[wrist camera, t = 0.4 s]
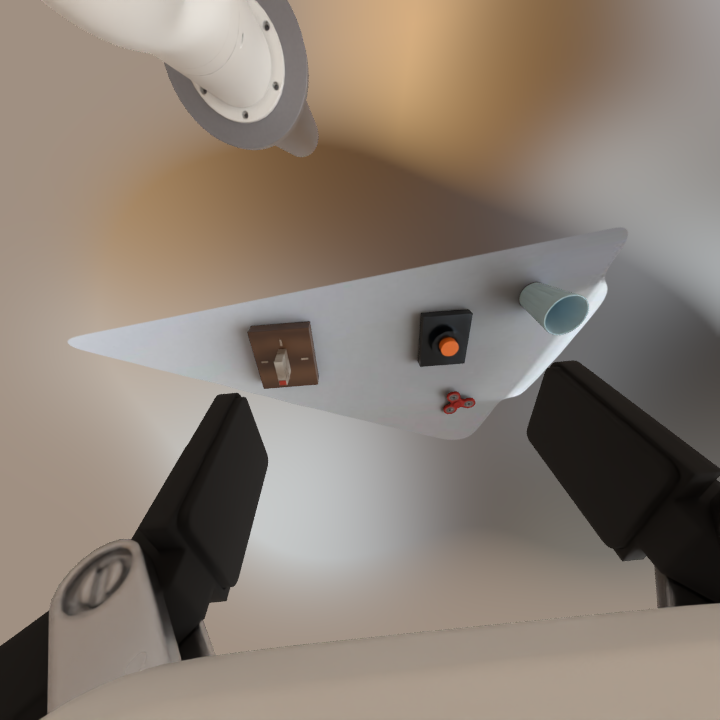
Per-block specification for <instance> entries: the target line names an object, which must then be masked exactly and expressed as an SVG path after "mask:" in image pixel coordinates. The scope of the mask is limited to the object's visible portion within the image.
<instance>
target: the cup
mask: <svg viewBox="0 0 720 720" xmlns="http://www.w3.org/2000/svg"><path fill="white" fill-rule="evenodd" d="M519 301H520V304H521V305H522V307H523V308H524V309H525V310H526V311H527V312H528V313H529V314H530V315H531V316H532V317H533V318H534V319H535V320H536V321H537V322H538V323H539V324H540V325H541V326H542V327H543V328H544V329H545V330H546V331H547V332H548V333H550V334H552V335H563V334H566V333H569V332H571V331H573V330H574V329H576V328H577V327H578V326H579V325H580V324H581V323H582V322H583V321H584V320H585V318H586V316H587V314H588V311H589V303H588V301H587V299H586V298H585V297H583V296H582V295H579V294H575V293H572V292H568V291H565V290H562V289H559V288H556V287H552V286H549V285H546V284H542V283H538V282H537V283H532V284H530V285H528V286H527V287H525V288H524V290H523V291H522V292H521V294H520V298H519Z"/></svg>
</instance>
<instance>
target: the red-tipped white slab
mask: <svg viewBox="0 0 720 720" xmlns="http://www.w3.org/2000/svg"><path fill="white" fill-rule="evenodd" d="M274 365H275V369H276V373H277V377H278V381H279V385H288V381H289V377H290V373H291V368H290V364H289V359H288V355H287V350H286V349H278V352H277V355H276V358H275V361H274Z"/></svg>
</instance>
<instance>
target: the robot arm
mask: <svg viewBox="0 0 720 720" xmlns="http://www.w3.org/2000/svg"><path fill="white" fill-rule="evenodd" d="M41 1H42V2H43V3H45V4H46V5H47V6H49V7H50V8H51V9H53V10H54V11H55V12H57V13H58V14H59V15H61V16H62V17H64V18H65V19H66V20H68V21H70V22H71V23H73V24H74V25H76V26H78V27H79V28H81V29H83V30H85V31H86V32H88V33H90V34H92V35H94V36H96V37H97V38H100V39H102V40H104V41H106V42H108V43H111V44H113V45H116V46H119V47H122V48H126V49H130V50H133V51H138V52H144V53H150V54H152V55H154V56H155V57H157V58H158V59H160V60H162V61H163V62H165V63H166V64H168V65H169V66H171V67H172V68H174V69H175V70H177V71H178V72H180V73H181V74H183V75H184V76H186V77H187V78H189V79H190V80H191V81H192V83H193V85H194V87H195V88H196V90H197V91H198V93H199V94H200V96H201V97H202V98H203V99H204V101H205V102H206V103H207V104H208V105H209V106H210V107H211V108H212V109H213V110H215V111H216V112H217V113H218V114H220V115H222V116H223V117H225V118H227V119H229V120H232V121H235V122H239V123H253V122H257V121H260V120H262V119H263V118H265V117H267V116H268V115H269V114H270V113H271V112H272V111H273V109H274V108H275V107H276V105H277V104H278V101H279V99H280V97H281V94H282V90H283V86H284V78H285V65H284V56H283V51H282V46H281V43H280V40H279V38H278V35H277V32H276V30H275V28H274V26H273V24H272V22H271V20H270V19H269V17H268V15H267V14H266V12H265V11H264V10H263V8H262V7H261V6H260V5H259V3H258V2H257V1H256V0H41ZM266 26H268V27H269V30H268V31H266ZM276 85H277V86H278V90H275V86H276ZM204 90H207V93H206V94H205V93H204ZM245 114H248V118H246V117H245ZM527 436H528V439H529V441H530V442H531V443H532V445H533V446H534V448H535V449H536V450H537V451H538V453H539V455H540V456H541V457H542V459H543V460H544V462H545V463H546V464H547V466H548V467H549V468H550V470H551V471H552V472H553V474H554V475H555V477H556V478H557V479H558V481H559V482H560V483H561V485H562V486H563V488H564V489H565V490H566V492H567V493H568V494H569V496H570V497H571V499H572V500H573V501H574V503H575V504H576V505H577V507H578V508H579V510H580V511H581V512H582V514H583V515H584V516H585V518H586V519H587V521H588V522H589V523H590V525H591V526H592V527H593V529H594V530H595V531H596V533H597V534H598V536H599V537H600V538H601V540H602V541H603V542H604V543H605V544H606V545H607V546H608V547H610V548H613V549H614V551H615V552H616V553H617V555H618V556H619V557H620V559H621V560H622V561H630V560H640V559H644V558H645V557H646V556H647V557H648V558H649V559H650V560H651V561H652V563H653V564H654V567H655V579H656V593H657V606H658V609H648V610H637V611H627V612H617V613H606V614H596V615H586V616H575V617H566V618H555V619H545V620H535V621H525V622H515V623H505V624H495V625H485V626H476V627H466V628H456V629H446V630H436V631H427V632H417V633H407V634H397V635H388V636H379V637H369V638H360V639H351V640H342V641H333V642H323V643H313V644H304V645H294V646H285V647H277V648H270V649H261V650H254V651H246V652H238V653H230V654H222V655H215V652H214V649H213V646H212V644H211V641H210V638H209V635H208V632H207V630H206V627H205V624H204V621H203V619H204V618H205V615H206V612H207V608H208V605H209V603H211V602H221V601H227V597H228V593H229V590H230V587H233V586H235V584H236V583H237V581H238V578H239V574H240V570H241V567H242V563H243V559H244V555H245V551H246V547H247V543H248V540H249V536H250V532H251V528H252V524H253V520H254V517H255V513H256V509H257V505H258V501H259V497H260V494H261V489H262V486H263V482H264V478H265V474H266V471H267V466H268V456H267V453H266V450H265V447H264V445H263V442H262V439H261V436H260V434H259V431H258V428H257V426H256V423H255V420H254V417H253V415H252V412H251V409H250V406H249V404H248V401H247V399H246V398H245V397H241V396H240V395H239V394H238V393H231V394H220V395H217V396H216V398H215V399H214V401H213V403H212V405H211V406H210V408H209V410H208V411H207V413H206V415H205V416H204V418H203V420H202V421H201V423H200V425H199V427H198V428H197V430H196V432H195V433H194V435H193V437H192V438H191V440H190V442H189V444H188V445H187V446H186V447H185V449H184V451H183V453H182V454H181V456H180V458H179V459H178V461H177V463H176V464H175V466H174V468H173V469H172V471H171V473H170V475H169V476H168V478H167V480H166V481H165V483H164V485H163V486H162V488H161V490H160V492H159V493H158V495H157V497H156V499H155V500H154V502H153V503H152V505H151V507H150V508H149V510H148V512H147V514H146V515H145V517H144V519H143V520H142V522H141V524H140V526H139V527H138V529H137V531H136V532H135V534H134V536H133V537H132V539H119V540H116V541H113V542H109V543H107V544H105V545H103V546H101V547H99V548H97V549H96V550H94V551H93V552H91V553H90V554H89V555H87V556H86V557H85V558H83V559H82V560H81V561H80V562H79V563H78V564H77V565H76V566H75V567H74V568H73V569H72V570H71V571H70V572H69V573H68V574H67V575H66V577H65V578H64V579H63V581H62V582H61V583H60V584H59V586H58V588H57V590H56V592H55V594H54V596H53V598H52V600H51V605H50V610H49V611H48V612H46V613H45V614H44V615H42V616H41V617H40V618H38V619H37V620H35V621H34V622H33V623H31V624H30V625H29V626H28V627H26V628H24V629H23V630H22V631H21V632H19V633H18V634H16V635H15V636H14V637H12V638H11V639H9V640H8V641H7V642H5V643H4V644H3V645H1V646H0V720H720V482H719V481H717V480H716V479H717V478H718V477H719V476H720V468H718V467H717V466H716V465H714V464H713V463H712V462H711V461H709V460H708V459H706V458H705V457H704V456H702V455H701V454H700V453H699V452H697V451H696V450H695V449H693V448H692V447H691V446H689V445H688V444H686V443H685V442H684V441H683V440H681V439H680V438H679V437H677V436H676V435H675V434H673V433H672V432H671V431H669V430H668V429H667V428H666V427H664V426H663V425H661V424H660V423H659V422H657V421H656V420H655V419H654V418H652V417H651V416H650V415H648V414H647V413H645V412H644V411H643V410H641V409H640V408H639V407H638V406H636V405H635V404H634V403H632V402H631V401H630V400H628V399H627V398H626V397H624V396H623V395H622V394H620V393H619V392H618V391H616V390H615V389H614V388H612V387H611V386H610V385H608V384H607V383H606V382H605V381H603V380H602V379H601V378H599V377H598V376H597V375H595V374H594V373H593V372H591V371H590V370H589V369H587V368H586V367H585V366H583V365H582V364H581V363H579V362H577V361H563V362H555V363H553V364H552V365H551V366H550V368H547V369H546V371H545V374H544V377H543V380H542V384H541V387H540V390H539V393H538V396H537V399H536V402H535V406H534V409H533V412H532V415H531V418H530V422H529V425H528V428H527Z"/></svg>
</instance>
